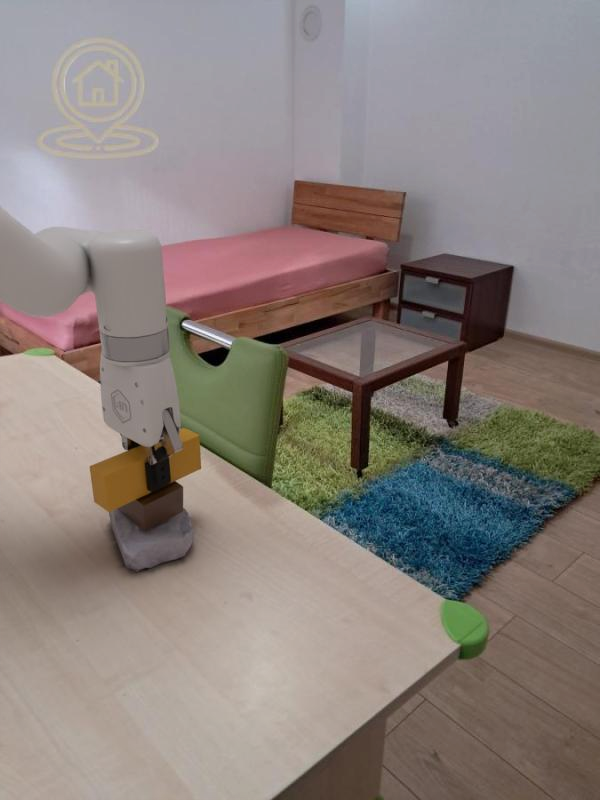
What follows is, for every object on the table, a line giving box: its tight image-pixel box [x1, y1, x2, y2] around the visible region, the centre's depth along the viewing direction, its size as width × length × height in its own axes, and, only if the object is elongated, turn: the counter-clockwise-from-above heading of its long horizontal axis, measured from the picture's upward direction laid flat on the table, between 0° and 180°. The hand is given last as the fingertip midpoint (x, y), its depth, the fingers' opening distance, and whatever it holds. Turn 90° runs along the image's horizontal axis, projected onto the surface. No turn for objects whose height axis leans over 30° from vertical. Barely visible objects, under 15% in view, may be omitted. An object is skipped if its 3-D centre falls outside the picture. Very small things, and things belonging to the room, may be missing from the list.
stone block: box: [108, 507, 195, 572], centre depth 82 cm, size 12×5×10 cm
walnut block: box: [117, 480, 184, 531], centre depth 81 cm, size 6×6×4 cm
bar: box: [89, 427, 202, 513], centre depth 79 cm, size 3×14×5 cm, turn 138°
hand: (149, 479), depth 79 cm, fingers closed on bar, 3 cm apart
